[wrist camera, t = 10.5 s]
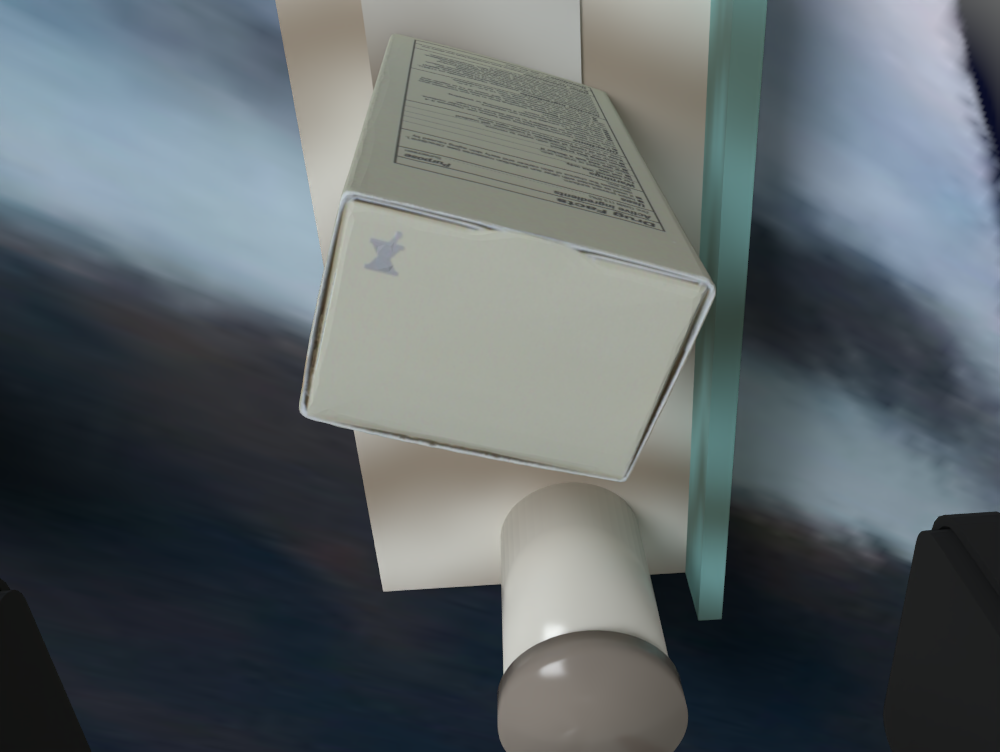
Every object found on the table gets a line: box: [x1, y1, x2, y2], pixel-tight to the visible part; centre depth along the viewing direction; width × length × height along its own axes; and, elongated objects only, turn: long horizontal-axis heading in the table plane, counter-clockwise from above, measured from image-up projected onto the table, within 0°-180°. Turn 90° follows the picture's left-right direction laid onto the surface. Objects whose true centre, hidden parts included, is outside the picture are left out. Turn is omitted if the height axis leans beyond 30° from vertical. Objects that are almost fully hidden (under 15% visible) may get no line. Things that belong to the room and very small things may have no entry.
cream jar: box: [497, 482, 688, 752], centre depth 30 cm, size 5×5×8 cm
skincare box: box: [299, 34, 716, 482], centre depth 20 cm, size 6×4×12 cm
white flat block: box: [275, 0, 767, 620], centre depth 28 cm, size 22×12×4 cm, turn 4°
